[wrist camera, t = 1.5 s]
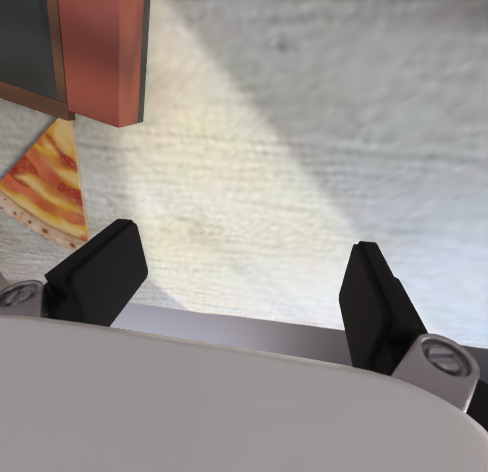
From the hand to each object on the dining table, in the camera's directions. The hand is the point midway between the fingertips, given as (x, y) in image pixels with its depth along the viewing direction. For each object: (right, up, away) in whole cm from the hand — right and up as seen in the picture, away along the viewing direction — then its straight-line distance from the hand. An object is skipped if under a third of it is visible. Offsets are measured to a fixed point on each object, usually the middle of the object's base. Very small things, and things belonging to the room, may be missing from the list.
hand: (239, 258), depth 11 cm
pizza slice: (-26, +7, +27) cm, 38 cm away
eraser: (-13, +21, +16) cm, 29 cm away
